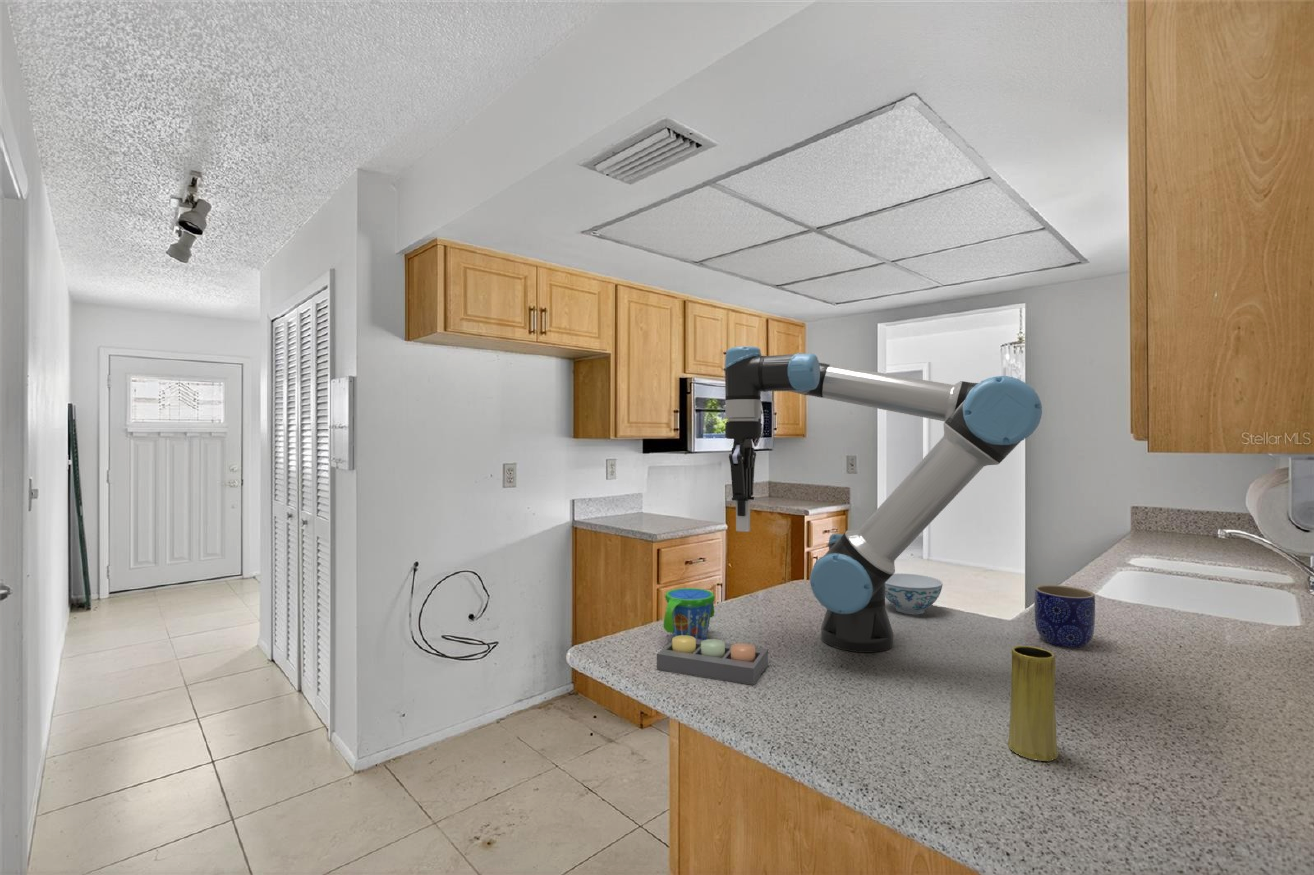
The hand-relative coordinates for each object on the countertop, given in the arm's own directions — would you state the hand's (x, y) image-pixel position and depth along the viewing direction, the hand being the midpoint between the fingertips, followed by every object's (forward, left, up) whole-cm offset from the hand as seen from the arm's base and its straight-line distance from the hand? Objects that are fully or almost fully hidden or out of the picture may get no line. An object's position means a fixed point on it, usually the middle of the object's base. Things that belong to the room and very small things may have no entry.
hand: (743, 530), depth 134 cm
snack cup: (+12, +1, -25) cm, 27 cm away
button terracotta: (-4, +14, -24) cm, 28 cm away
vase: (-50, +27, -25) cm, 62 cm away
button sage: (+2, +14, -24) cm, 28 cm away
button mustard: (+8, +15, -24) cm, 29 cm away
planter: (-63, -28, -25) cm, 73 cm away
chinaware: (-32, -41, -25) cm, 58 cm away
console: (+2, +15, -24) cm, 28 cm away
